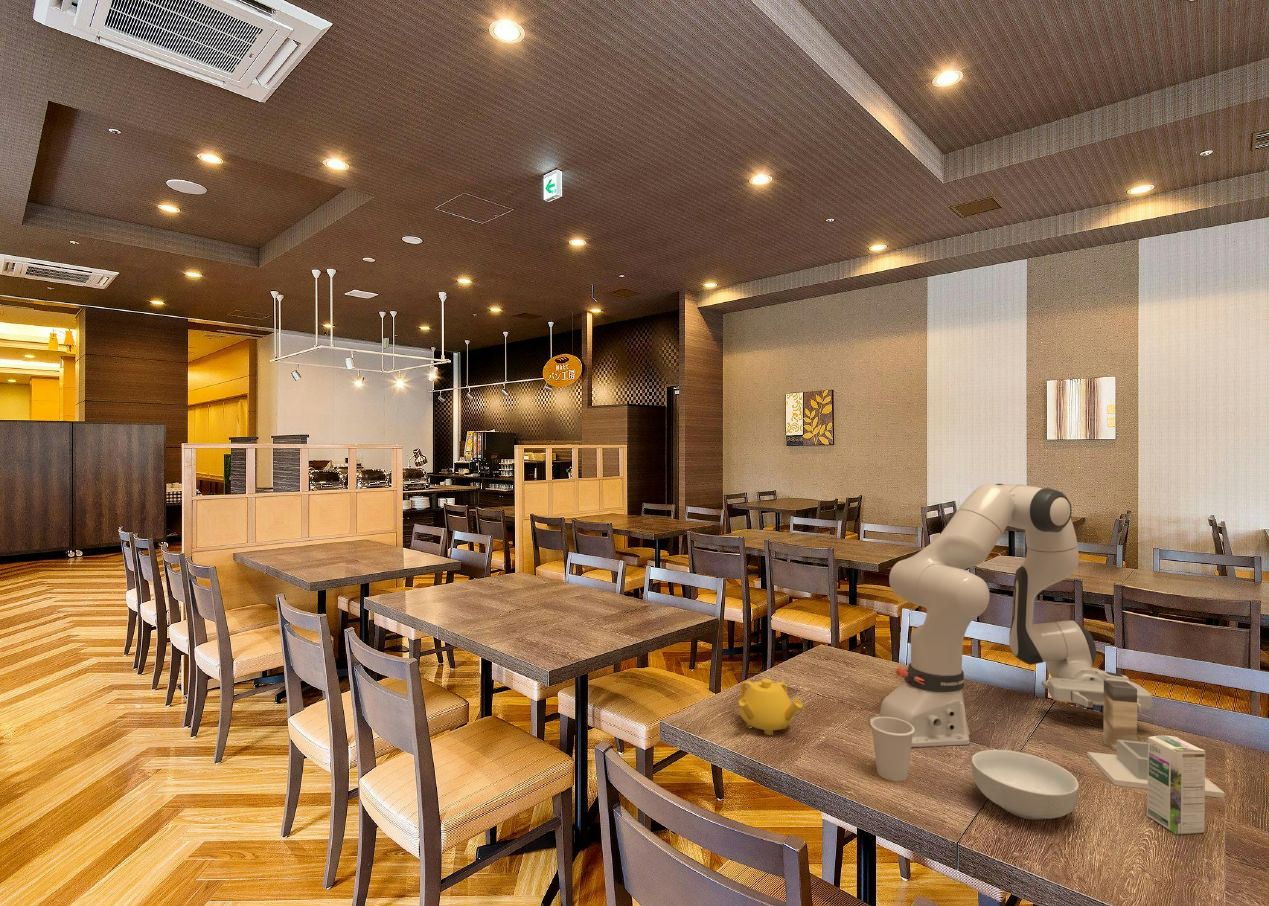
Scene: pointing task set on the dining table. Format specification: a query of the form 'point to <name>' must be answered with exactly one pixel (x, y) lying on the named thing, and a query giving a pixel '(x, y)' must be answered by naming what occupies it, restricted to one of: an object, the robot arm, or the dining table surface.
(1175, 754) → the syrup box
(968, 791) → the dining table surface
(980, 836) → the dining table surface
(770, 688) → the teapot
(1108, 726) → the tool handle
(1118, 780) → the caddy
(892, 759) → the dixie cup
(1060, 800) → the cereal bowl
